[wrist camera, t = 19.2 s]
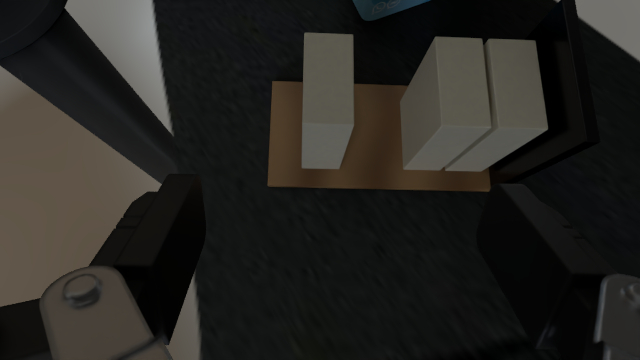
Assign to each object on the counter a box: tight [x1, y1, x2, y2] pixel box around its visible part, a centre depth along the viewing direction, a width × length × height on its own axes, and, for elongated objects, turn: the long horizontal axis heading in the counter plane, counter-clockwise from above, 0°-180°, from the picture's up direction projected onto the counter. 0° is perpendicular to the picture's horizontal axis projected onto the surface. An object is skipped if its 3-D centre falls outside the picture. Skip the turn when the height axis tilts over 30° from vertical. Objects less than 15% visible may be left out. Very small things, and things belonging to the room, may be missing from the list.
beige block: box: [302, 33, 354, 169], centre depth 28 cm, size 3×6×9 cm, turn 179°
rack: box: [268, 0, 600, 192], centre depth 27 cm, size 18×9×12 cm, turn 89°
